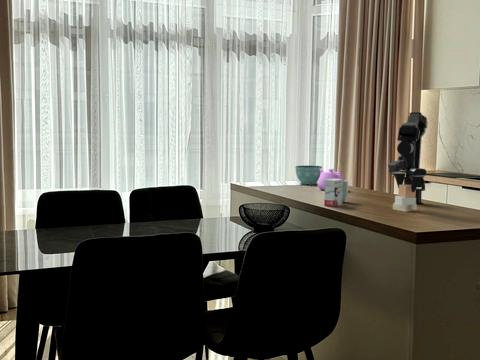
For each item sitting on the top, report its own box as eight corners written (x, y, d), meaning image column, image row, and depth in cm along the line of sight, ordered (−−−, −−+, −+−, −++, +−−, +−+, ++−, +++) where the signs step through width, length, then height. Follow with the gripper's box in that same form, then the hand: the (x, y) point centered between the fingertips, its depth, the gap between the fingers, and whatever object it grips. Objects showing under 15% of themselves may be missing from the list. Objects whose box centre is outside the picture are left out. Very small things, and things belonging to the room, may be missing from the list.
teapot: (350, 191, 304) (351, 169, 302) (330, 192, 298) (330, 170, 296) (328, 187, 321) (329, 167, 320) (309, 188, 315) (309, 167, 314)
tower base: (404, 209, 245) (404, 202, 245) (416, 211, 239) (416, 204, 239) (392, 210, 241) (392, 203, 241) (404, 212, 235) (405, 205, 235)
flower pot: (294, 185, 332) (294, 166, 330) (295, 182, 347) (296, 165, 346) (321, 185, 329) (321, 167, 328) (322, 183, 345) (322, 165, 344)
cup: (349, 201, 264) (349, 180, 263) (344, 203, 257) (345, 181, 256) (333, 200, 267) (333, 179, 266) (328, 202, 260) (329, 181, 259)
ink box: (333, 207, 246) (334, 180, 245) (323, 205, 249) (324, 179, 248) (342, 204, 253) (343, 178, 251) (332, 203, 256) (333, 178, 254)
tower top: (408, 202, 243) (408, 195, 243) (415, 204, 237) (416, 197, 237) (394, 202, 242) (395, 195, 242) (401, 205, 236) (402, 198, 236)
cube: (398, 196, 241) (398, 184, 240) (408, 195, 242) (408, 184, 242) (405, 197, 236) (405, 186, 236) (415, 197, 238) (415, 185, 237)
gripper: (379, 153, 244) (377, 188, 245) (405, 155, 226) (403, 194, 228) (400, 153, 247) (399, 188, 249) (428, 155, 230) (426, 193, 231)
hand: (406, 190), depth 239 cm, fingers open, 9 cm apart
